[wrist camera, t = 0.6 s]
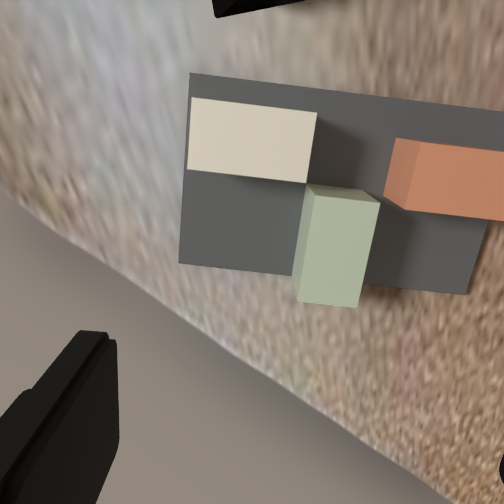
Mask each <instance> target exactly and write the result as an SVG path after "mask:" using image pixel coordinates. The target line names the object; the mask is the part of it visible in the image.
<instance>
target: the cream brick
mask: <svg viewBox="0 0 504 504" xmlns="http://www.w3.org/2000/svg"><path fill="white" fill-rule="evenodd" d="M316 117H317V113H315V112H307V111H299V110H291V109H283V108H275V107H267V106H258V105H250V104H242V103H234V102H226V101H218V100H210V99H202V98H194V97H192V100H191V116H190V132H189V148H188V163H187V169H191V170H199V171H208V172H216V173H225V174H233V175H242V176H250V177H258V178H267V179H275V180H284V181H292V182H301V183H306V180H307V173H308V167H309V161H310V155H311V148H312V142H313V136H314V130H315V123H316Z"/></svg>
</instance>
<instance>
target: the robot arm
mask: <svg viewBox="0 0 504 504" xmlns="http://www.w3.org/2000/svg"><path fill="white" fill-rule="evenodd" d="M118 444H119V403H118V368H117V343H116V340H113V339H109V336H108V334H107V333H106V332H97V331H84V330H80V331H79V332H77V334H76V335H75V336H74V337H73V338H72V340H71V341H70V342H69V343H68V345H67V346H66V347H65V348H64V349H63V351H62V352H61V353H60V354H59V356H58V357H57V358H56V359H55V361H54V362H53V363H52V364H51V366H50V367H49V368H48V369H47V370H46V372H45V373H44V374H43V376H42V377H41V378H40V379H39V380H38V381H37V383H36V384H35V385H34V386H33V388H32V389H28V390H25V391H23V392H22V393H21V394H20V395H19V396H18V397H17V399H16V400H15V401H14V402H13V403H12V404H11V406H10V407H9V408H8V409H7V410H6V411H5V413H4V414H3V415H2V416H1V417H0V504H96V501H97V499H98V497H99V494H100V492H101V489H102V487H103V484H104V482H105V479H106V477H107V474H108V472H109V470H110V467H111V465H112V463H113V460H114V458H115V455H116V452H117V449H118ZM499 472H500V477H501V480H502V482H503V483H504V454H503V457H502V460H501V462H500V466H499Z"/></svg>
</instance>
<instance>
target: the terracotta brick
mask: <svg viewBox="0 0 504 504" xmlns="http://www.w3.org/2000/svg"><path fill="white" fill-rule="evenodd" d="M383 196H385V197H386V198H388V199H389V200H391V201H392V202H394V203H395V204H397V205H398V206H400V207H402V208H403V209H405V210H413V211H422V212H430V213H439V214H447V215H456V216H464V217H473V218H481V219H490V220H499V221H504V151H501V150H493V149H485V148H477V147H468V146H460V145H452V144H444V143H436V142H428V141H419V140H411V139H403V138H396V139H395V144H394V148H393V153H392V157H391V162H390V166H389V171H388V175H387V180H386V184H385V189H384V193H383Z"/></svg>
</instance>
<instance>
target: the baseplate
mask: <svg viewBox="0 0 504 504" xmlns="http://www.w3.org/2000/svg"><path fill="white" fill-rule="evenodd" d="M192 97H194V98H202V99H210V100H218V101H226V102H234V103H242V104H250V105H258V106H267V107H275V108H283V109H291V110H299V111H307V112H315V113H317V117H316V123H315V130H314V136H313V142H312V148H311V155H310V161H309V167H308V173H307V180H306V183H308V184H317V185H325V186H334V187H342V188H351V189H359V190H363V191H364V192H366V193H367V194H369V195H370V196H371V197H373V198H374V199H376V200H377V201H378V202H380V207H379V212H378V216H377V220H376V225H375V229H374V234H373V238H372V243H371V247H370V252H369V256H368V261H367V265H366V270H365V274H364V279H363V283H362V284H370V285H379V286H388V287H397V288H406V289H415V290H424V291H433V292H442V293H451V294H460V295H465V293H466V290H467V287H468V284H469V281H470V278H471V274H472V271H473V268H474V265H475V262H476V259H477V256H478V252H479V249H480V246H481V243H482V240H483V237H484V233H485V230H486V227H487V224H488V221H489V219H481V218H473V217H464V216H456V215H447V214H439V213H430V212H422V211H413V210H405V209H403V208H402V207H400V206H398V205H397V204H395V203H394V202H392V201H391V200H389V199H388V198H386V197H385V196H383V193H384V189H385V184H386V180H387V175H388V171H389V166H390V162H391V157H392V153H393V148H394V144H395V139H396V138H403V139H411V140H419V141H428V142H436V143H444V144H452V145H460V146H468V147H477V148H485V149H493V150H501V151H504V112H500V111H492V110H484V109H476V108H468V107H460V106H452V105H444V104H436V103H428V102H420V101H412V100H404V99H396V98H388V97H380V96H372V95H364V94H356V93H348V92H340V91H332V90H324V89H316V88H308V87H300V86H292V85H284V84H276V83H268V82H260V81H252V80H244V79H236V78H228V77H220V76H212V75H204V74H196V73H190V78H189V95H188V111H187V128H186V145H185V161H184V178H183V194H182V211H181V227H180V244H179V261H178V263H181V264H190V265H199V266H208V267H217V268H226V269H235V270H244V271H253V272H262V273H271V274H280V275H289V276H292V270H293V264H294V258H295V251H296V245H297V239H298V233H299V226H300V220H301V214H302V208H303V201H304V195H305V189H306V183H301V182H292V181H284V180H275V179H267V178H258V177H250V176H242V175H233V174H225V173H216V172H208V171H199V170H191V169H187V163H188V148H189V132H190V116H191V100H192Z"/></svg>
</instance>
